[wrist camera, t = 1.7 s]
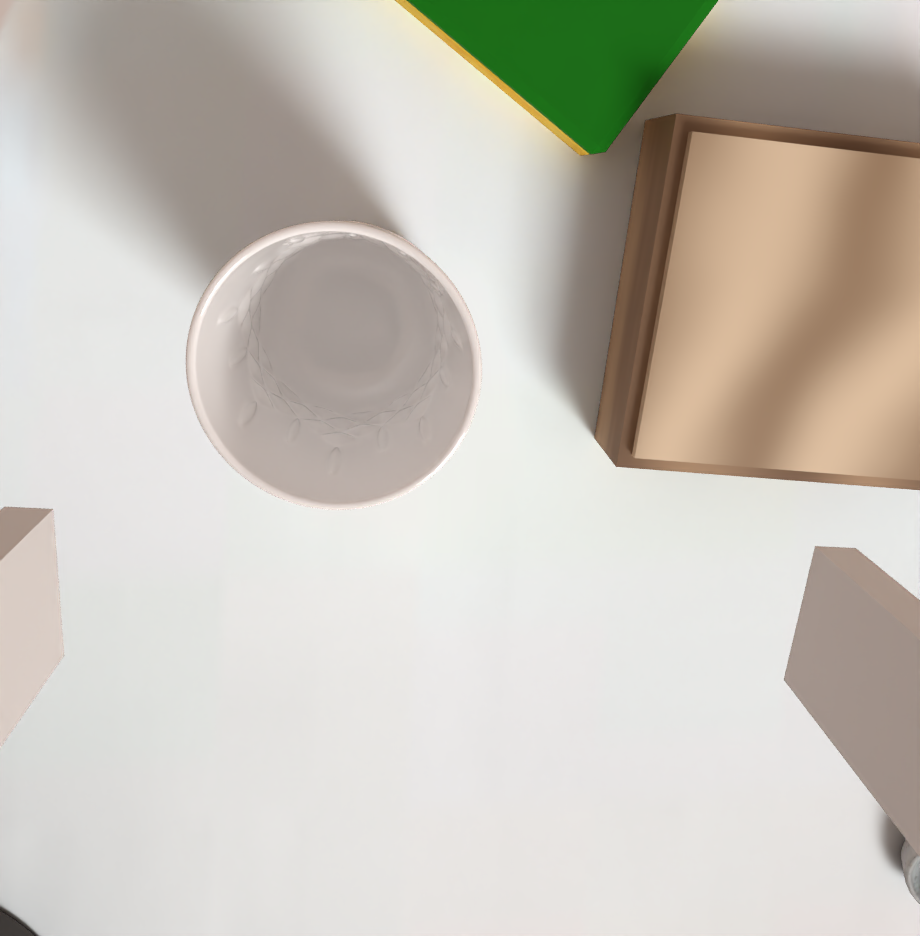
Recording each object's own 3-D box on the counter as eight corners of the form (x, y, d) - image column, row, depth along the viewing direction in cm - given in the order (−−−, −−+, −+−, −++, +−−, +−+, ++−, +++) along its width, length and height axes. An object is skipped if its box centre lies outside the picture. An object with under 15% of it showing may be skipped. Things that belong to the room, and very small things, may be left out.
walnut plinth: (594, 438, 35) (618, 470, 31) (645, 120, 31) (680, 112, 27) (873, 460, 36) (930, 494, 32) (955, 157, 32) (1030, 155, 28)
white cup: (466, 403, 34) (495, 491, 24) (267, 428, 34) (218, 527, 24) (443, 195, 31) (465, 203, 22) (227, 220, 31) (154, 240, 21)
